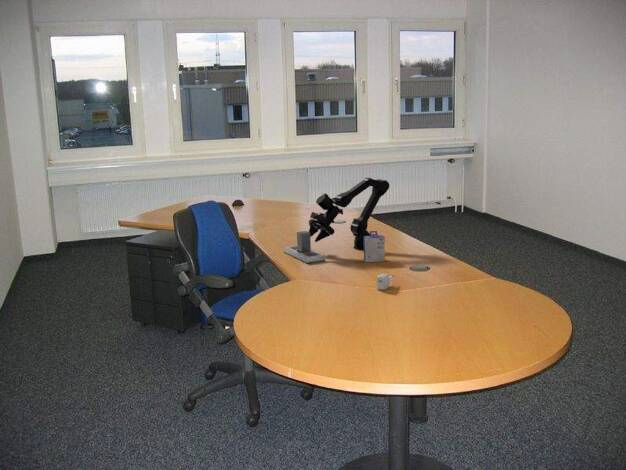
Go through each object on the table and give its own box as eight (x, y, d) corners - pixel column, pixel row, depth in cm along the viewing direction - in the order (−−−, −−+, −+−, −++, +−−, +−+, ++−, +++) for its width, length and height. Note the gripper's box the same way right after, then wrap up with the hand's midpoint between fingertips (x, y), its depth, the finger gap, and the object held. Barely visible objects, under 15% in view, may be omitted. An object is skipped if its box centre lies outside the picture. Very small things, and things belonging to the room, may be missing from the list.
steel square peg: (306, 254, 311) (305, 230, 309) (310, 256, 307) (310, 232, 304) (297, 255, 309) (296, 232, 306) (301, 257, 305) (301, 233, 302)
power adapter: (385, 282, 262) (385, 269, 260) (395, 283, 259) (396, 270, 258) (374, 289, 252) (374, 275, 251) (385, 291, 250) (385, 277, 249)
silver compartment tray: (284, 252, 317) (284, 247, 316) (301, 250, 321) (301, 244, 321) (306, 263, 294) (306, 257, 294) (325, 261, 299) (324, 255, 298)
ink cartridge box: (383, 258, 300) (383, 230, 297) (385, 261, 295) (385, 232, 292) (363, 259, 300) (363, 230, 297) (365, 262, 294) (365, 233, 291)
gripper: (311, 203, 315) (292, 227, 312) (328, 208, 299) (308, 233, 296) (325, 216, 320) (307, 240, 318) (342, 222, 304) (323, 247, 301)
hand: (311, 239), depth 308 cm, fingers open, 9 cm apart
